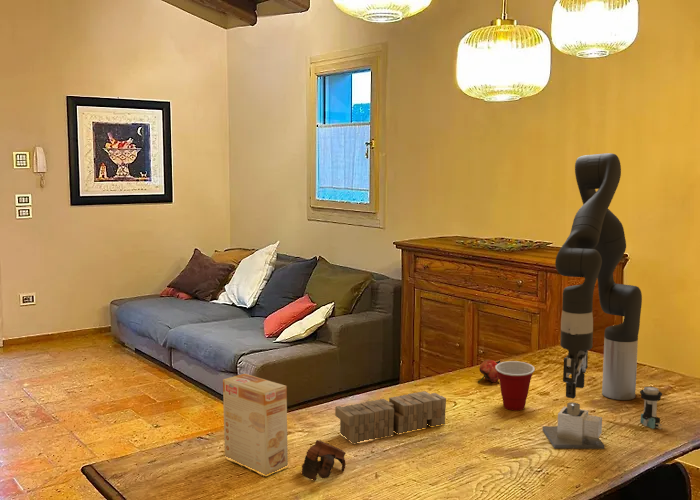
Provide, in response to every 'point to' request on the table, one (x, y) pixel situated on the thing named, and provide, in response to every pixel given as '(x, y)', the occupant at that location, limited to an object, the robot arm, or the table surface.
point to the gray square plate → (568, 443)
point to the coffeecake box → (255, 422)
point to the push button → (650, 407)
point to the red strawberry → (489, 370)
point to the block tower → (391, 416)
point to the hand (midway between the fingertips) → (575, 392)
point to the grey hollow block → (578, 425)
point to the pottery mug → (327, 460)
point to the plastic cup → (514, 383)
